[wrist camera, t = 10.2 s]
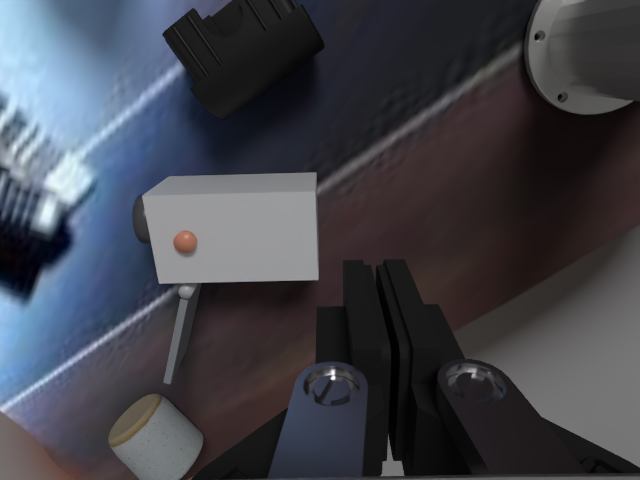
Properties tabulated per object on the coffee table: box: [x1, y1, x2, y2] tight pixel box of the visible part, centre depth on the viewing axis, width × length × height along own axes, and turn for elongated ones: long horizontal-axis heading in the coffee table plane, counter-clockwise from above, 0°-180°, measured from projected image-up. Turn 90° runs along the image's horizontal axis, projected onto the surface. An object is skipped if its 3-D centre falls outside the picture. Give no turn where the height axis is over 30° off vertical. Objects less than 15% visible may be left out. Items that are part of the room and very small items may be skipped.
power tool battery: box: [162, 0, 324, 119], centre depth 33 cm, size 10×7×7 cm
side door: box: [163, 283, 202, 384], centre depth 42 cm, size 12×1×6 cm, turn 163°
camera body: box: [133, 173, 319, 284], centre depth 38 cm, size 16×8×7 cm, turn 92°
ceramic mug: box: [108, 394, 203, 480], centre depth 48 cm, size 11×8×8 cm
